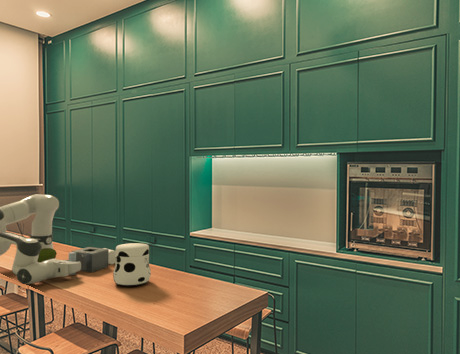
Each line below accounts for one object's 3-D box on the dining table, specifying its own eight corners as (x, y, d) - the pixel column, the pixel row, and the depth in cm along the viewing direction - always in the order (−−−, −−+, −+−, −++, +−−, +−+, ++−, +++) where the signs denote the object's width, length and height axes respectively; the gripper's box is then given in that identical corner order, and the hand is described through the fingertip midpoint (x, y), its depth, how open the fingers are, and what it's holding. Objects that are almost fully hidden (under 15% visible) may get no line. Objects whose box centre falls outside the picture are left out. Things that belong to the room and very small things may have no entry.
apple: (30, 266, 202) (31, 248, 202) (45, 262, 212) (46, 245, 212) (46, 268, 199) (46, 250, 199) (60, 264, 209) (60, 246, 209)
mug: (106, 265, 207) (106, 251, 207) (97, 262, 214) (97, 249, 214) (124, 262, 216) (124, 248, 216) (115, 259, 223) (115, 246, 223)
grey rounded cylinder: (66, 274, 187) (67, 253, 187) (72, 272, 191) (72, 251, 191) (72, 275, 186) (72, 253, 186) (77, 273, 190) (77, 252, 190)
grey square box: (71, 269, 197) (71, 251, 197) (88, 264, 209) (88, 247, 209) (91, 272, 192) (92, 253, 192) (108, 266, 204) (108, 249, 204)
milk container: (158, 282, 177) (158, 245, 177) (131, 291, 162) (132, 251, 162) (132, 276, 186) (132, 241, 186) (105, 285, 171) (105, 246, 171)
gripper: (36, 272, 180) (58, 266, 193) (67, 277, 173) (88, 270, 186) (36, 259, 180) (58, 254, 193) (68, 263, 173) (88, 257, 186)
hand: (73, 262), depth 189 cm, fingers open, 6 cm apart
